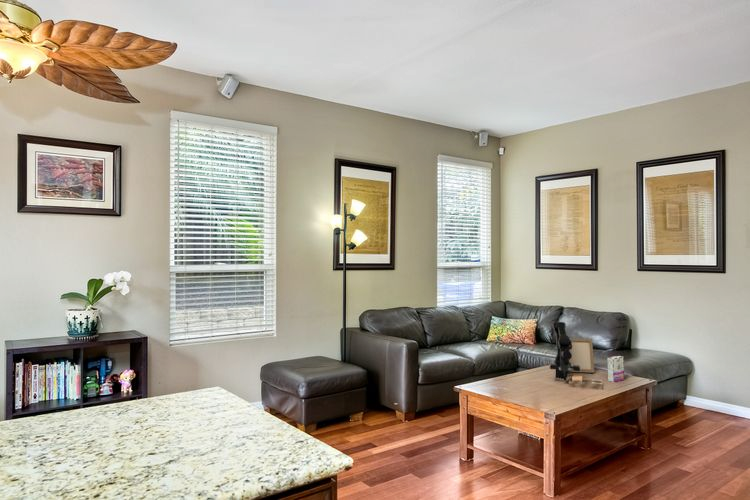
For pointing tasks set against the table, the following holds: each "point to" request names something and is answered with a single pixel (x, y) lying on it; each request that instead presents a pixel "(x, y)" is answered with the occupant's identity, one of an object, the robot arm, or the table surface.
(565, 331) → the robot arm
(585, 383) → the chute
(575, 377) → the block
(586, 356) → the photo frame
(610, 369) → the candy bar box
